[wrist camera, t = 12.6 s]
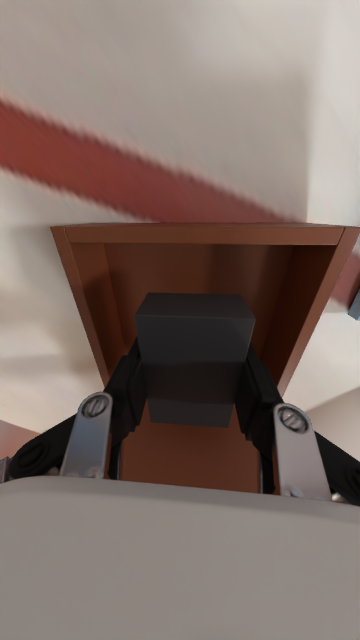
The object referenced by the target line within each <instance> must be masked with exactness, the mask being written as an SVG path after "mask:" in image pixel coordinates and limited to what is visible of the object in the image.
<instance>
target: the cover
mask: <svg viewBox="0 0 360 640" xmlns="http://www.w3.org/2000/svg"><path fill="white" fill-rule="evenodd" d="M122 481H131V482H142V483H153V484H164V485H175V486H185V487H196V488H207V489H217V490H228V491H238V492H248V493H257V449H256V448H255V447H254V446H253V444H252V441H246V438H245V434H242V433H241V431H240V427H239V422H238V417H237V412H236V408H235V403H234V407H233V411H232V415H231V419H230V423H229V427H228V428H220V427H206V426H192V425H178V424H165V423H151V421H150V415H149V408H148V402H147V399H146V403H145V407H144V411H143V415H142V418H141V422H140V425H139V426H136V428H135V432H129V435H128V436H127V437H126V438H125V439H124V449H123V469H122Z"/></svg>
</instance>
